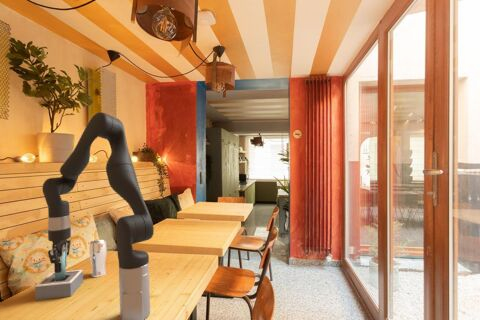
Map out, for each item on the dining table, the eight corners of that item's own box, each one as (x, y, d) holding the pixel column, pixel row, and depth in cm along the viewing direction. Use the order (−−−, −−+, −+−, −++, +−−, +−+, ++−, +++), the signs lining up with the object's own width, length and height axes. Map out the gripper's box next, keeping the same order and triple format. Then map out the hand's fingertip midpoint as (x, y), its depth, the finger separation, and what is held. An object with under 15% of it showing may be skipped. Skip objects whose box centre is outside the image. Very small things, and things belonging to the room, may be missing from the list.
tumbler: (103, 270, 127) (102, 238, 127) (110, 273, 122) (109, 240, 122) (87, 275, 121) (86, 242, 121) (93, 279, 117) (93, 245, 117)
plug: (63, 279, 106) (63, 249, 105) (51, 280, 105) (51, 250, 105) (68, 275, 110) (67, 245, 110) (57, 276, 109) (56, 246, 109)
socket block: (70, 296, 102) (70, 282, 102) (35, 300, 100) (35, 285, 100) (83, 282, 114) (82, 269, 114) (51, 285, 112) (51, 272, 112)
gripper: (61, 231, 101) (62, 276, 101) (77, 222, 115) (78, 262, 115) (39, 232, 99) (40, 278, 100) (57, 223, 113) (58, 264, 114)
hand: (60, 269), depth 107 cm, fingers closed on plug, 3 cm apart
